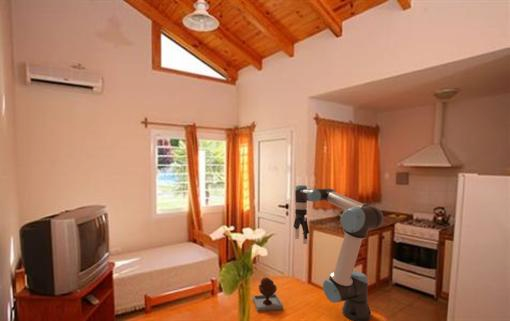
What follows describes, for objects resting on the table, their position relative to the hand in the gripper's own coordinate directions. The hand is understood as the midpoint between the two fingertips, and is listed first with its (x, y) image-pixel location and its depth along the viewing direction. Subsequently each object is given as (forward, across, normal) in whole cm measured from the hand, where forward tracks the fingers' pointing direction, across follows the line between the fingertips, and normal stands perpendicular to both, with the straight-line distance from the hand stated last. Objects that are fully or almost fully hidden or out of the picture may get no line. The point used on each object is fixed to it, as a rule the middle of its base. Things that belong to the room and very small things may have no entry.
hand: (300, 241), depth 179 cm
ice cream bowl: (+33, +8, -25) cm, 42 cm away
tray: (+34, +9, -25) cm, 43 cm away
